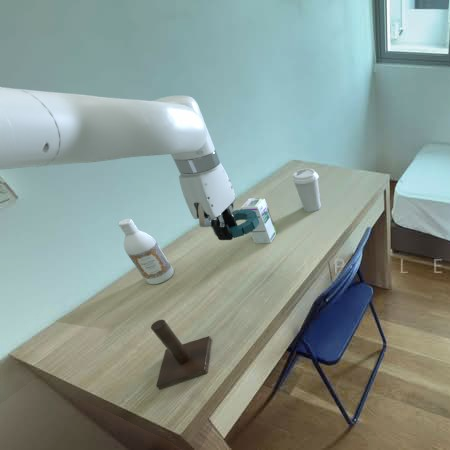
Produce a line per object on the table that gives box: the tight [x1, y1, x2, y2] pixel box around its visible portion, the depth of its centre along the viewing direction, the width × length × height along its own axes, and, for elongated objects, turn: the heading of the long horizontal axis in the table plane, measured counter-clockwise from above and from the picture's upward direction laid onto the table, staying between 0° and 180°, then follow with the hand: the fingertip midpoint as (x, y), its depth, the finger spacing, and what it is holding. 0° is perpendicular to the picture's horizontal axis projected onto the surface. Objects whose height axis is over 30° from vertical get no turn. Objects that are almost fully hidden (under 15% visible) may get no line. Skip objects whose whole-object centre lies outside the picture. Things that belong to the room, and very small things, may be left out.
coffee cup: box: [291, 168, 322, 213], centre depth 118 cm, size 10×10×15 cm
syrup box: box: [240, 197, 278, 244], centre depth 102 cm, size 6×6×14 cm
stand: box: [150, 319, 212, 390], centre depth 65 cm, size 9×9×14 cm
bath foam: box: [117, 218, 175, 285], centre depth 86 cm, size 7×7×20 cm
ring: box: [211, 208, 259, 239], centre depth 75 cm, size 10×10×2 cm
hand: (229, 234), depth 73 cm, fingers closed on ring, 2 cm apart
